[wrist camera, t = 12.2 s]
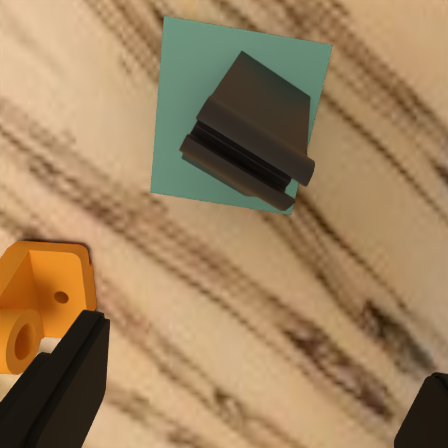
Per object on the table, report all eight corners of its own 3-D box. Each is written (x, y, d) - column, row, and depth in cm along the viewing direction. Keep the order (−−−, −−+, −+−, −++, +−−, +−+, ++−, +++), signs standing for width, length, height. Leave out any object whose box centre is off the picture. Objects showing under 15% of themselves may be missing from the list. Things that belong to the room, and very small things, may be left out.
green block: (317, 50, 29) (332, 45, 25) (283, 196, 34) (291, 215, 30) (175, 26, 29) (164, 15, 24) (162, 177, 34) (150, 192, 29)
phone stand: (242, 50, 25) (245, 27, 14) (310, 96, 26) (363, 109, 15) (181, 156, 28) (145, 207, 17) (244, 195, 29) (249, 265, 18)
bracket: (99, 324, 41) (48, 414, 30) (38, 320, 41) (-36, 408, 30) (90, 241, 37) (27, 310, 26) (22, 237, 37) (-69, 304, 26)
